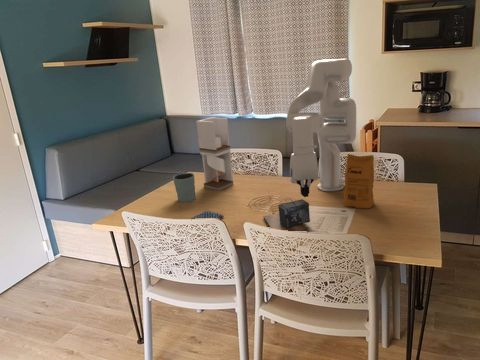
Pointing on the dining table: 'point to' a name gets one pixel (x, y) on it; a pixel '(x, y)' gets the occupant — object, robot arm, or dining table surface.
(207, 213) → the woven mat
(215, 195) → the dining table surface
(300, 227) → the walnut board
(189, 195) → the teal cup
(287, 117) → the robot arm
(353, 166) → the coffee package
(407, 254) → the dining table surface
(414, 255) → the dining table surface
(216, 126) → the white drip coffee maker
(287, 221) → the box
